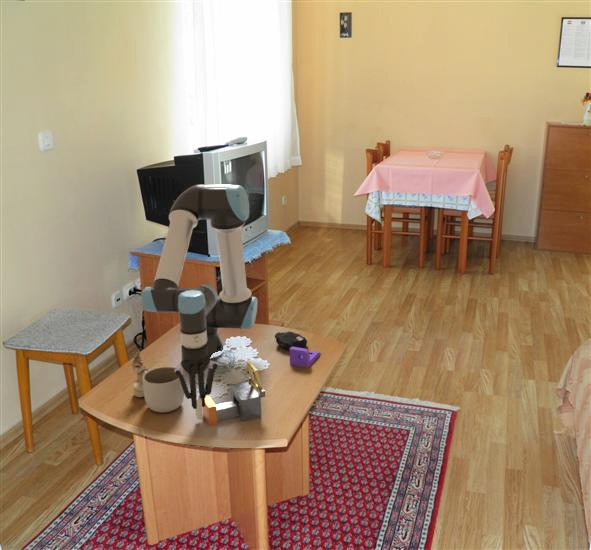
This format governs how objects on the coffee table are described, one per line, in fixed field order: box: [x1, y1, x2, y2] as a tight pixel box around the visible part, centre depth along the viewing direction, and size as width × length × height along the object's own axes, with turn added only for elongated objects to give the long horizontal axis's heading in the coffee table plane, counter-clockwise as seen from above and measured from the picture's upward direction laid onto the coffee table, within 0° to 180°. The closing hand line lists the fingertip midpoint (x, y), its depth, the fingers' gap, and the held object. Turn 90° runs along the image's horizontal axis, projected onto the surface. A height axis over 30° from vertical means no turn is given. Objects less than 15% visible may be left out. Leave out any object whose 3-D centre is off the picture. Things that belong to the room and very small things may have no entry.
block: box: [230, 376, 266, 422], centre depth 202 cm, size 11×8×8 cm
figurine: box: [130, 352, 149, 398], centre depth 213 cm, size 7×7×15 cm
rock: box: [274, 331, 308, 351], centre depth 247 cm, size 10×9×6 cm
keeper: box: [246, 360, 263, 393], centre depth 200 cm, size 8×1×8 cm, turn 24°
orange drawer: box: [202, 395, 240, 427], centre depth 199 cm, size 11×7×6 cm, turn 114°
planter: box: [142, 366, 185, 414], centre depth 205 cm, size 12×12×11 cm
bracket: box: [289, 347, 321, 368], centre depth 237 cm, size 12×7×7 cm, turn 156°
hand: (199, 416), depth 196 cm, fingers closed
